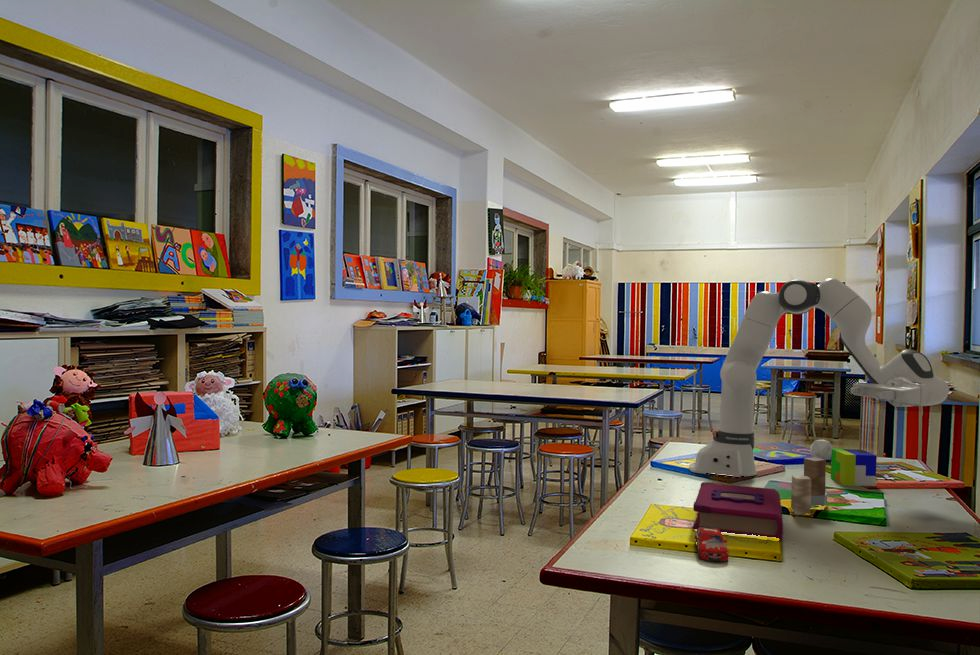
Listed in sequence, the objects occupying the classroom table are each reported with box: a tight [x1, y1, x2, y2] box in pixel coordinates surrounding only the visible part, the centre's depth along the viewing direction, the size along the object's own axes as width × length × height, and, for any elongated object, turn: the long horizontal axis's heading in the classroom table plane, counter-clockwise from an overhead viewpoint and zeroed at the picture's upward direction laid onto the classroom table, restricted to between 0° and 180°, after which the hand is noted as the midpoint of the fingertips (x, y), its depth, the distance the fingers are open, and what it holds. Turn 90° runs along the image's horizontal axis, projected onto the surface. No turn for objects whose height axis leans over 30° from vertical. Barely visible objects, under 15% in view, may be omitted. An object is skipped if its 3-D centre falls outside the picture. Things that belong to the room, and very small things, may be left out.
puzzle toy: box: [830, 448, 877, 487], centre depth 241 cm, size 10×10×10 cm
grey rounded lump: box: [809, 439, 835, 461], centre depth 276 cm, size 8×9×10 cm
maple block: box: [790, 474, 811, 516], centre depth 201 cm, size 4×4×10 cm
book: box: [692, 481, 784, 541], centre depth 191 cm, size 21×28×8 cm
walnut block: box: [803, 456, 827, 496], centre depth 208 cm, size 4×4×10 cm
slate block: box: [811, 492, 828, 506], centre depth 209 cm, size 7×7×4 cm
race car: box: [694, 527, 729, 562], centre depth 167 cm, size 16×7×5 cm, turn 167°
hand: (864, 392), depth 217 cm, fingers open, 8 cm apart
